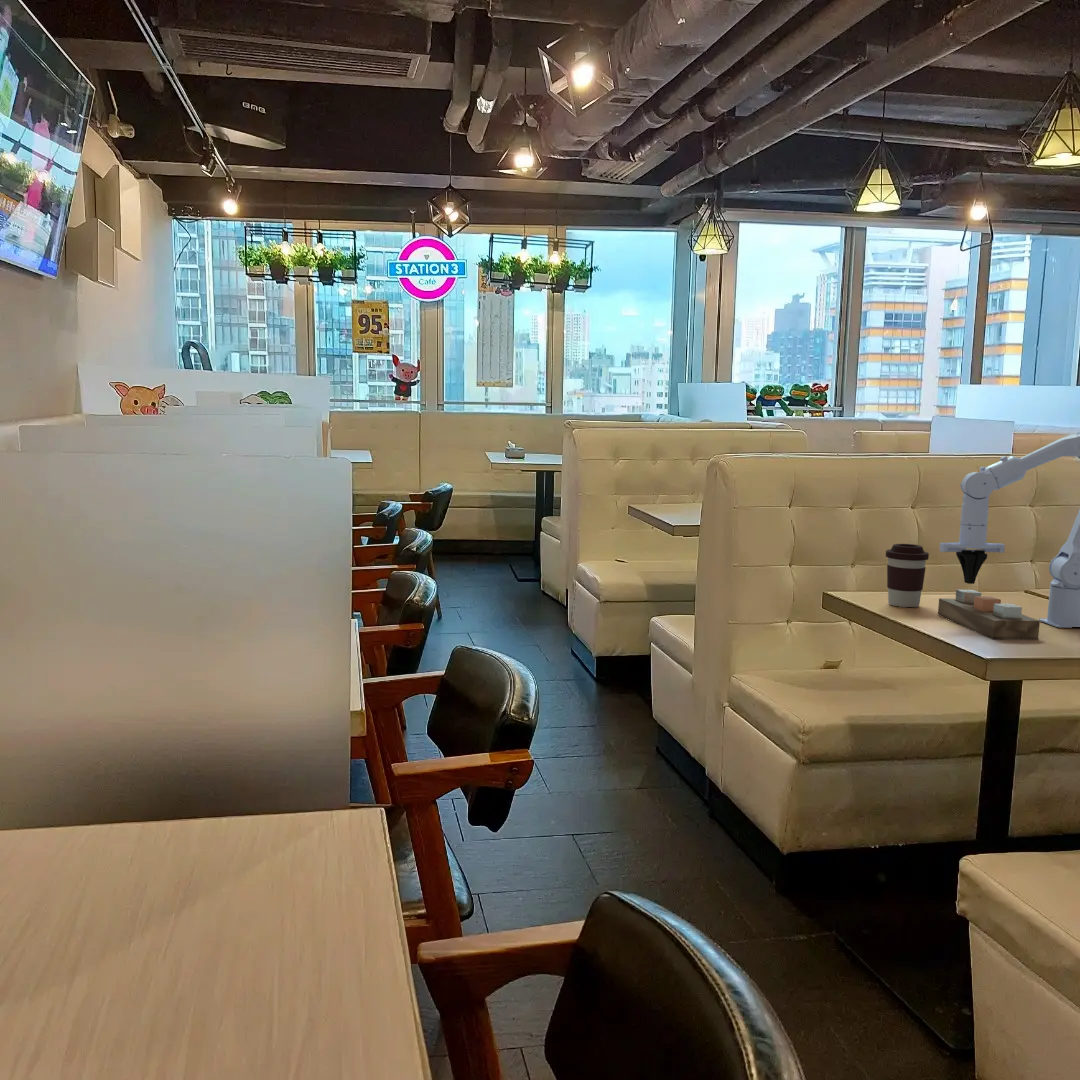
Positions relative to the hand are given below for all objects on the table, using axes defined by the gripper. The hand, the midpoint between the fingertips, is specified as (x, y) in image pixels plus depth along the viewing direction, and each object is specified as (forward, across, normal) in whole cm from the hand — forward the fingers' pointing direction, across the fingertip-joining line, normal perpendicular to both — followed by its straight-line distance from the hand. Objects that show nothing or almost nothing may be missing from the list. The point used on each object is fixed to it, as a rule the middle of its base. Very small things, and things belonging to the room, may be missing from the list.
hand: (969, 583), depth 231 cm
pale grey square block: (+5, 0, +17) cm, 18 cm away
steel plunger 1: (+5, 0, 0) cm, 5 cm away
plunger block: (+8, 0, +8) cm, 12 cm away
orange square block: (+5, 0, +9) cm, 10 cm away
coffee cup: (+9, +8, -16) cm, 20 cm away
